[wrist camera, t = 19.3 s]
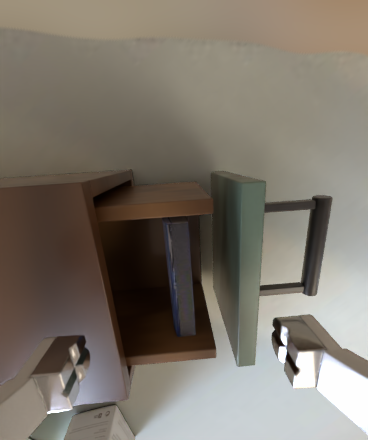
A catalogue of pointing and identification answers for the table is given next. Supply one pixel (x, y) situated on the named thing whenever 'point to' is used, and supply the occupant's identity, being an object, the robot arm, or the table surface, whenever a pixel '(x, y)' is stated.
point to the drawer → (196, 262)
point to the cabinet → (59, 277)
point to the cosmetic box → (99, 425)
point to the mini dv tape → (179, 274)
